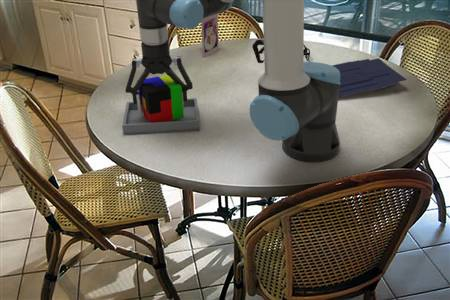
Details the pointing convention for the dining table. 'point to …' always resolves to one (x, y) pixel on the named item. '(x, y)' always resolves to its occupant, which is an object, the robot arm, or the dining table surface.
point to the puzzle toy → (161, 99)
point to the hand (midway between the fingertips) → (161, 112)
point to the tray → (140, 124)
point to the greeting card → (210, 34)
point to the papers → (365, 76)
